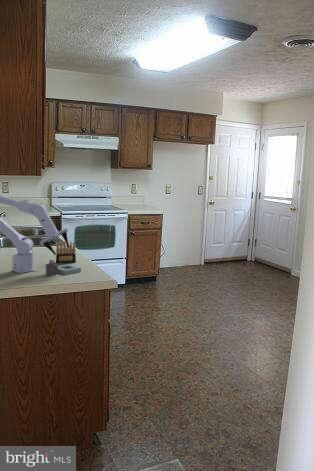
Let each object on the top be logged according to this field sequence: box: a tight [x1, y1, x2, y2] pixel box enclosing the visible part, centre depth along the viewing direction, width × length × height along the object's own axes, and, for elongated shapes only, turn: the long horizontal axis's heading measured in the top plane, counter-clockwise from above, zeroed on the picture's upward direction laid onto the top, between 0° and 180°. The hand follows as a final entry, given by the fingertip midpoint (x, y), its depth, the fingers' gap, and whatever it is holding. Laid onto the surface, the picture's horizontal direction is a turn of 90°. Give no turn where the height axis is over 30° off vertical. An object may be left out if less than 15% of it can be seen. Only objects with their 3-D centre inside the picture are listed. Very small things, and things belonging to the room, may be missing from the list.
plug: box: [45, 259, 59, 276], centre depth 202 cm, size 4×4×7 cm
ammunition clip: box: [55, 240, 77, 264], centre depth 227 cm, size 11×2×12 cm, turn 113°
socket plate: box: [58, 263, 82, 276], centre depth 209 cm, size 10×10×2 cm
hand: (62, 250), depth 206 cm, fingers open, 7 cm apart
